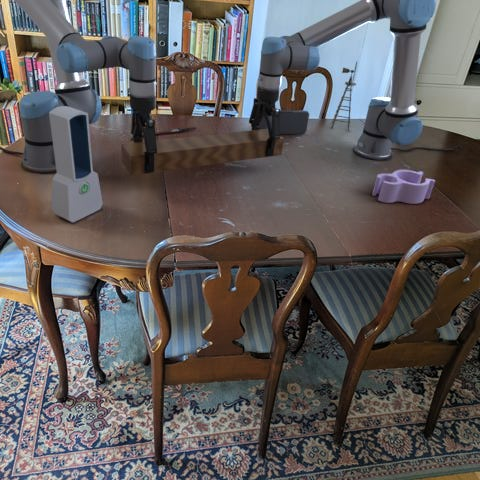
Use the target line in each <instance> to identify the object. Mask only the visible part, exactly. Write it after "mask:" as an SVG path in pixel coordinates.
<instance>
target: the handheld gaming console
mask: <svg viewBox="0 0 480 480" xmlns="http://www.w3.org/2000/svg"><path fill="white" fill-rule="evenodd" d="M280 110H281V112H280V135H293V134H294V135H297V134H298V135H300V134H305V133H306V132H307V130H308V123H309V118H310V113H309V111H308V110H303V109H301V110H299V109H284V110H283V109H280ZM271 116H272V115H271ZM257 127H259V128H260V129H268V126H267V120H266V119H265V116H263V118H262V120H261V122H260V124H259V126H257ZM260 129H259V130H260Z"/></svg>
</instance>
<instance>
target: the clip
mask: <svg viewBox="0 0 480 480" xmlns="http://www.w3.org/2000/svg"><path fill="white" fill-rule="evenodd" d="M423 175H424V171H420V170H419V171H414V170H412V169H411V170H410V169H397V170H394V171H393V172H392V173H379V174H377V175H376V179H375V182H374V186H373V189H372V193H371V196H373V197H376V196H377V195H378V198H377V201H379V202H381V203H387V204H392V203H395V202H402V203H404V204H405V203H406V204H413V205H416V204H421V203H423V202H424V201H425V200H429V199H430V197H431V194H432V191H433V188H434V185H435V182H436V180H435V179H433V178H425V179H424V182H422V183H421V181H422V177H423Z"/></svg>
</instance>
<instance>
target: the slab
mask: <svg viewBox="0 0 480 480" xmlns="http://www.w3.org/2000/svg"><path fill="white" fill-rule="evenodd" d="M268 138H269V133H268V129H260V130H252V129H251V130H241V131H232V132H223V133H213V134H203V135H192V136H185V137H175V138H174V137H173V138H165V139H164V138H163V139H156V144H157V153H154V172H149V173H148V174H152V173H160V172H166V171H167V172H168V171H175V170H181V169H189V168H195V167H196V168H198V167H203V166H210V165H211V166H212V165H219V164H225V163H233V162H241V161H249V160H256V159H262V158H272V157H277V156H278V157H279V156H282V154H283V147H284V140H285V138H284V137H283V136H281V135H280V139H276V141H275V147H274V152H273V156H268V157H266V156H265V155H266V147H267V139H268ZM120 148H121V151H120V152H121V163H122V164H123V166H124V168H126V170H127V172H128V173H129V174H130V175H131V176H138V175H144V174H147V173H146V172H145V154H144V152H146V148H145V143H144V141H143V142H135V143H134V142H128V143H121V144H120Z"/></svg>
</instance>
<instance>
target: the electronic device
mask: <svg viewBox="0 0 480 480" xmlns="http://www.w3.org/2000/svg"><path fill="white" fill-rule="evenodd" d="M49 117H50V124H51V132H52V140H53V147H54V155H55V162H56V170H57V171H56V172H55V174H54V175H53V177H52V180H51V209H52V212H53V214H55V215H57V216H58V217H60V218H62V219H64V220H66V221H68V222H69V223H72V224H73V223H75V222H77V221H79V220H81V219H84V218H85V217H88V216H89V215H92V214H93V213H96V212H98V211H100V210H101V209H102V207H103V204H104V202H103V196H102V191H101V186H100V181H99V180H100V178H99V174H98V172H96V171H94V169H93V168H94V166H93V157H92V145H91V132H90V124H89V120H88V113H86V112H83V111H80V110H77V109H74V108H71V107H67V106H60V107H57V108H55V109H53V110H52V111H50V112H49Z"/></svg>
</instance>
